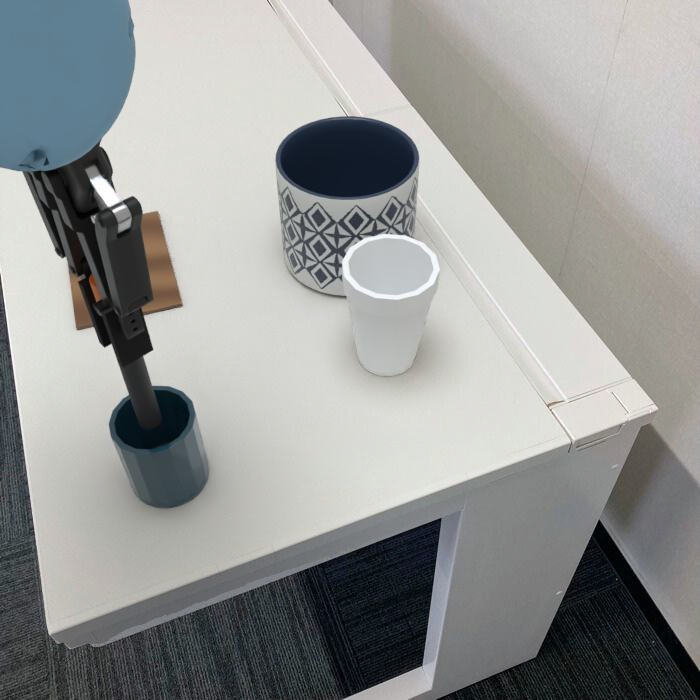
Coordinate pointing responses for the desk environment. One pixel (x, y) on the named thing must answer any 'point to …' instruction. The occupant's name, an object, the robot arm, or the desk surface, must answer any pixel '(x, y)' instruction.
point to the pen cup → (162, 450)
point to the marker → (137, 385)
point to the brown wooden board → (159, 274)
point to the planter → (342, 193)
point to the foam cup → (389, 299)
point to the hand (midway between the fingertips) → (126, 345)
